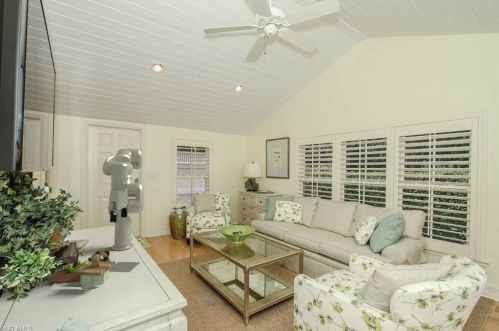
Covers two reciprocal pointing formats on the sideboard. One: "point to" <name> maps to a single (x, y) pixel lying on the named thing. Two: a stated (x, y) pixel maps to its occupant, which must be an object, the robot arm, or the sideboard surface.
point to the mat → (123, 266)
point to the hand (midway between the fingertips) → (118, 219)
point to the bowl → (93, 280)
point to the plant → (67, 272)
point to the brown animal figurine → (104, 254)
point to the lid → (94, 266)
